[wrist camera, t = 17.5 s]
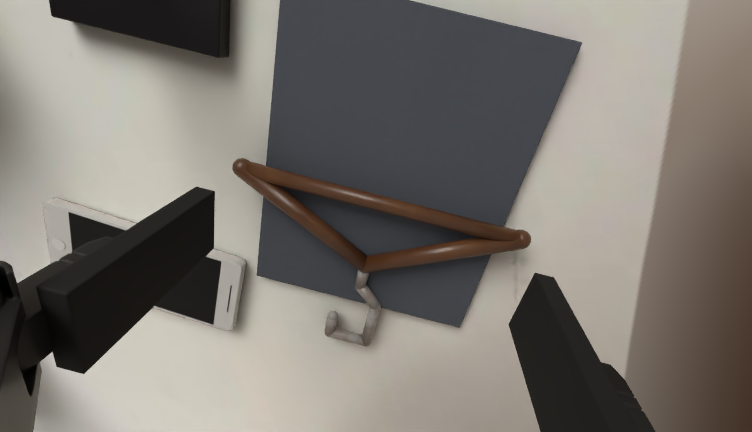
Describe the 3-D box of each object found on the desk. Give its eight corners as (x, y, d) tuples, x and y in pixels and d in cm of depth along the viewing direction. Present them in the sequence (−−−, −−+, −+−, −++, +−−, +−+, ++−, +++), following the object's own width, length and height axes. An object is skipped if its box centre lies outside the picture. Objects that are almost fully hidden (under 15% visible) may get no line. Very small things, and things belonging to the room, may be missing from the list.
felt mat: (578, 42, 19) (582, 42, 19) (459, 322, 28) (459, 327, 27) (286, -29, 19) (282, -31, 19) (259, 271, 28) (256, 275, 28)
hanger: (536, 239, 22) (462, 376, 28) (532, 228, 23) (461, 364, 29) (228, 160, 22) (229, 314, 29) (238, 153, 23) (236, 304, 30)
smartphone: (51, 195, 27) (39, 200, 26) (247, 259, 28) (241, 265, 27) (61, 269, 30) (50, 276, 30) (236, 325, 31) (230, 333, 30)
